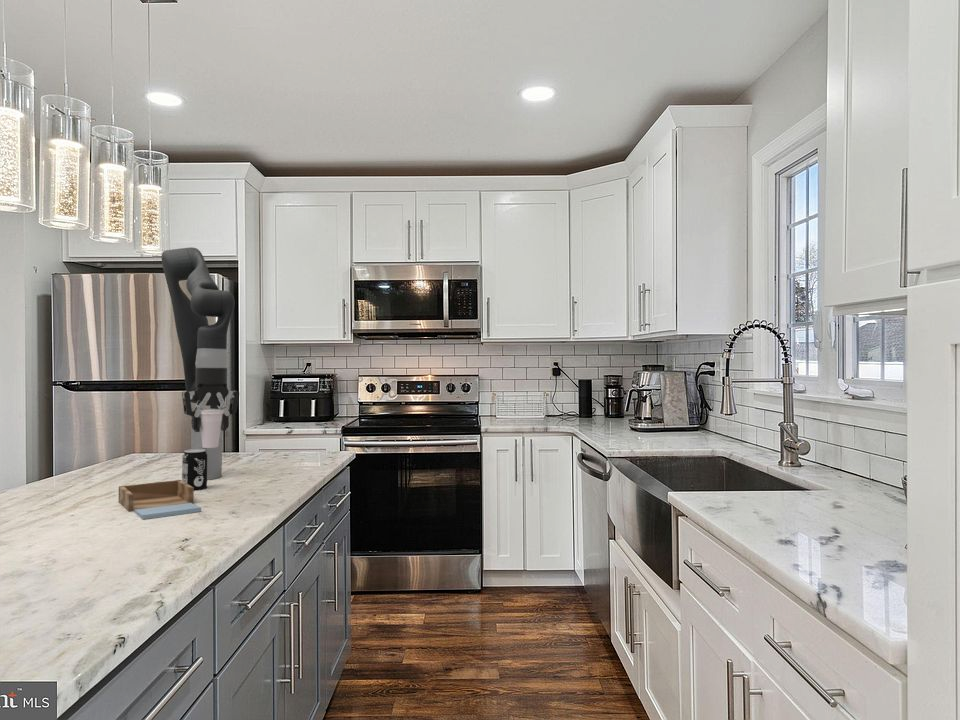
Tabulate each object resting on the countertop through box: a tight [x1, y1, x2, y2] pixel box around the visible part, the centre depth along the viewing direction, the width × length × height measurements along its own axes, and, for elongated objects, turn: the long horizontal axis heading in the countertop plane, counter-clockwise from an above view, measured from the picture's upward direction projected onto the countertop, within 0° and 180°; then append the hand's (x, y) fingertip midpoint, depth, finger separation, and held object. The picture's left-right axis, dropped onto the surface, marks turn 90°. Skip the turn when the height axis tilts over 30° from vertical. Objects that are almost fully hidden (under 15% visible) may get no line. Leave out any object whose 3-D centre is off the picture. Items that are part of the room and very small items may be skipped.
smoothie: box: [199, 406, 224, 448], centre depth 162 cm, size 6×6×14 cm
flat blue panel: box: [133, 502, 202, 520], centre depth 154 cm, size 1×13×10 cm
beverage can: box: [181, 448, 208, 492], centre depth 181 cm, size 7×7×12 cm
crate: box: [118, 479, 195, 513], centre depth 163 cm, size 13×15×5 cm
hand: (210, 430), depth 162 cm, fingers closed on smoothie, 6 cm apart
